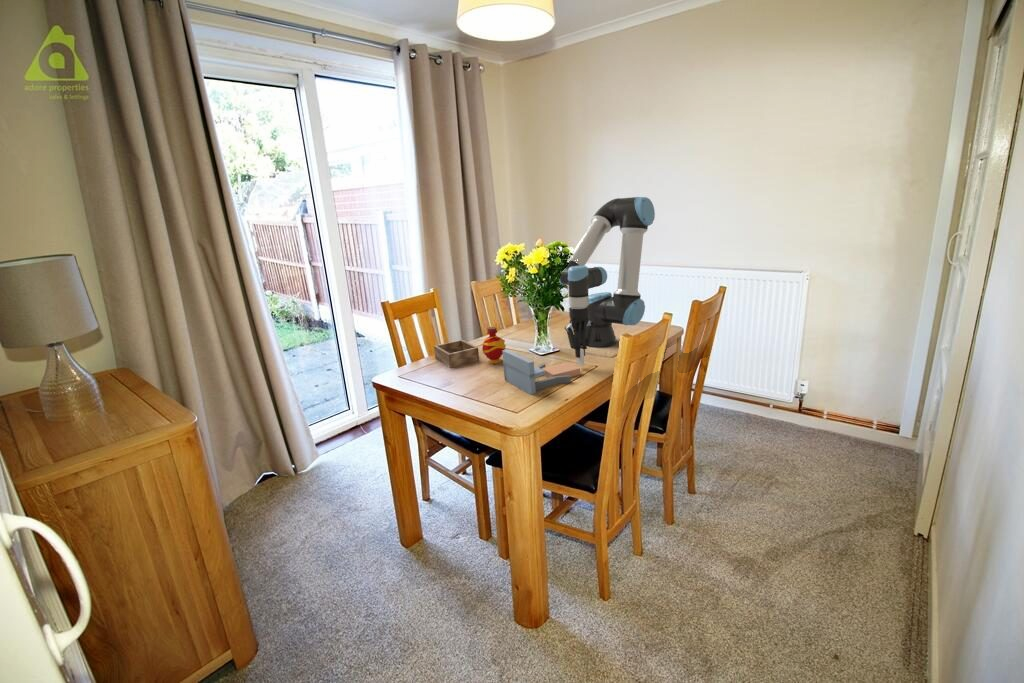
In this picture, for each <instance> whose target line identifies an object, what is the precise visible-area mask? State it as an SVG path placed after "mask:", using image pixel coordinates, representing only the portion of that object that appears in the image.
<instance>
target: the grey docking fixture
mask: <svg viewBox="0 0 1024 683" xmlns="http://www.w3.org/2000/svg"><path fill="white" fill-rule="evenodd" d="M502 352H503V354H502V363H503V373H504V374H503V376H504V381H506V382H507V383H509V384H511V385H513V386H514V387H516V388H518V389H520V390H522V391H523V392H526V393H527V394H529V395H531V396H532V395H535V394H537V390H542V389H544V388H547V387H552V386H554V385H557V384H569V383H572V377H571V376H570V375H565V376H555V377H551V378H547V377H546V378H544V379H541V380H537V381H536V378H538V377H541V376H544V375H545V370H543V369H542V368H545V367H546V363H542V364H540V365H538V366H536V365H535V362H534V360H531V359H530V358H526V357H524V356H522V355H520V354H518V353H516V352H514V351H511V350H509V349H506V348H505V350H502Z"/></svg>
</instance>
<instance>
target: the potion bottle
mask: <svg viewBox="0 0 1024 683" xmlns="http://www.w3.org/2000/svg"><path fill="white" fill-rule="evenodd" d="M497 329H498V328H497V326H489V327H487V334H489V336H488V337H486V338H485V339H484V341H483V343H482V353H483V354H484V355H485V356H486V358H487V359H489V363H490V364H497V363H501V361H502V360H501V358H502V357H503V352H502V350H506V346H507V345H506V344H505V339H503V337H500V336H498V335H497V333H498V330H497Z"/></svg>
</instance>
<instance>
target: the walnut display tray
mask: <svg viewBox="0 0 1024 683" xmlns="http://www.w3.org/2000/svg"><path fill="white" fill-rule="evenodd" d="M433 351H434V358H435V360H437V361H439V362H441V363H442V364H444V365H445V366H446V367H448V368H450V369H452V368H455V367H459V366H464V365H467V364H470V363H471V364H472V363H475V362H479V361H480V354H479V347H477V346H476V345H473V344H472V343H469V342H467V341H466V340H464V339H458V340H454V341H449V342H445V343H441V344H440V343H439V344H435V345H433Z"/></svg>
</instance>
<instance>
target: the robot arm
mask: <svg viewBox="0 0 1024 683" xmlns="http://www.w3.org/2000/svg"><path fill="white" fill-rule="evenodd" d="M655 217H656V212H655V207H654V204H653V201H651V199H650V198H649V197H646V196H634V197H633V196H632V197H623V198H622V197H621V198H618V197H617V198H614V199H611V200H609V201H607V202H606V203H604V204H603V205H602V206H600V208H599V209H598V210H596V212H595V214H594V215H593V216H592V217H591V220H590V224H589V227H588V228H587V229H586V230H585V232H584V234H583V235H582V237H581V239H580V240H579V241H578V243H577V244H576V246H575V247H574V249H573V250H574V255H573V258H571V259H570V261H569V264H568V266H567V267H566V268H565V269H564V270H563V271H562V273H561V276H560V279H559V281H560V284H559V285H561V284H562V285H561V286H568V306H569V308H568V312H569V313H568V314H569V318H570V319H569V324H568V325H567V326H566V325H565V326H564V330H565V331H566V334H567V338H568V342H569V345H570V348H571V349H572V350H574V351H575V358H576V364H577V365H578V366H585V356H586V350H587V349H588V347H592V348H593V347H594V348H604V347H611V346H613V345H615V344H617V343H616V342H617V338H616V337H617V336H616V335H615V330H614V329H613V324H619V325H624V326H635V325H637V324H639V323H640V322H641V321H642V319H643V317H644V315H645V311H646V310H645V309H646V305H645V301H644V299H642V298H641V293H640V292H639V291H638V289H639V280H640V271H641V269H640V268H641V262H642V261H641V259H642V251H643V240H644V235H645V233H646V232H648V230H649V229H648V228H649V226H651V225H652V224H653V223H654V221H655ZM614 227H619V230H620V232H621V233H622V239H621V250H620V259H619V270H618V278H617V280H618V281H617V289H616V290H615V291H614V292H613V295H612V293H611V292H609V291H608V292H607V291H606V292H597V293H592V294H589V290H590V289H593V288H596V287H600V286H602V285H604V284H605V283H606V282H607V280H608V273H607V271H606V269H605V268H604V267H602V266H593V267H588V266H587V265H586V264H587V263H588V261H589V260H590V258H591V257H592V255H593V253H594V252H595V250H596V249H597V247H598V246H599V244H600V243H601V241H602V240H603V237H604V236H605V235H606V234H608V233H609V232H611V230H612V229H613V228H614ZM577 259H578V261H577ZM575 260H576V261H575ZM576 262H577V263H576Z"/></svg>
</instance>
